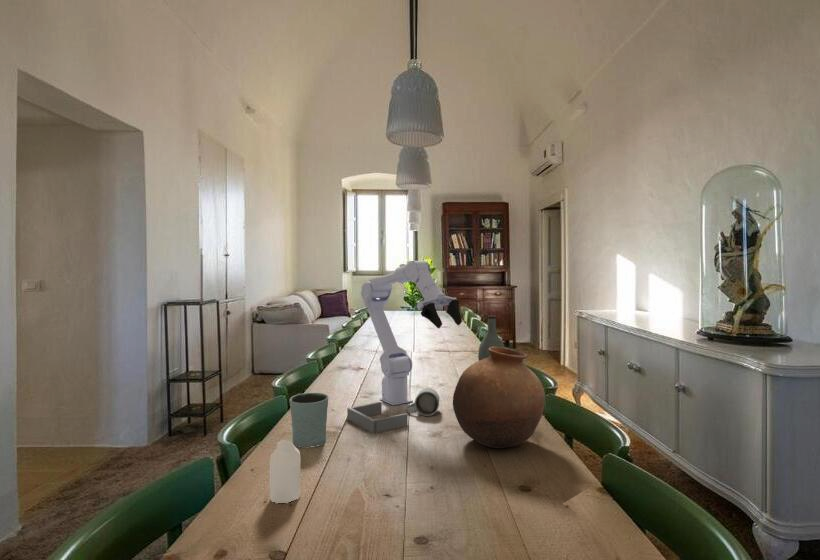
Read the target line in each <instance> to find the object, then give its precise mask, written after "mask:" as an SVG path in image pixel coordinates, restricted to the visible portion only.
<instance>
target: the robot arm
mask: <svg viewBox="0 0 820 560" xmlns="http://www.w3.org/2000/svg"><path fill="white" fill-rule="evenodd" d="M410 282H412V283H415V285H416V287H417V289H418V291H419V292H420V294H421V295H422V298H423V300H421V301H418V302H417V304H416V308H417V310H418V311H419V312H420V311H421V312H420V315H421V316H422V317H423V318H425V319H426V320H429V321H430V322H431V323H432V324H433V325H434V326H435V327H436V328H437V329H441V327H442V326H443V322H442V319H441V318H440V316H439V314H438V311H437V309H439V308H441V307H446V306H447V309H446V311H445V313H446V314H448V315H449V317H451V319H452V320H453V321H454V323H455V324H456V326H460V325H461V323H463V320H462V317H461V312H460V300H458V299H457V297H455V296H454V297H452V296H448V295H446V294H445V292H442V290H441V289H440V287H439V285H438V284H437V282H436V281H435V279H434V277H433V276H432V274H431V266H430V264H429V262H428V261H426V260H411V261H409V262H408V263H407V264H406V263H402V264H400V265H399V267H396V268H395V270H394V271H393V272H391V273H389V274H388V273H387V274H383V275H381V276H377V277H374V278H371V279H369V280H368V281H365V282H363V284H362V286H361V291H360V295H361V298H362V301H363V303H364V306H365V307H366V308H367V312H368V313H369V317H370V319H371V322H372V325H373V327H374V330H375V333H376V335H377V338H378V340H379V343H380V346H381V348H382V350H383V352H382V354H381V355H380V357H379V362H380V368H381V372H382V373H383V375H384V376H383V377H382V379H381V397H380V398H379V400H380V401H382V402H385V403H387V404H390V405H391V406H397V405H398V406H399V405H402V404H407V403H411V402H412V403H414V401H413V400H412V399H410V398H408V394H409V393H408V376H410V373H411V371H412V369H413V361H412V359H411V357H410V356H409V355H408V353H407V351H406V349H404V348H402V347H400V346H399V345H398V343H397V342H398V341H396V337H395V336H394V333H393V331H392V328H391V325H390V323H389V321H388V318H387V315H386V313H385V310H384V307H386V306H387V305H388V302H389V300H390V297H391V295H392V294H391V293H392V290H393V284H396V283H399V284H400V285H401V284H405V283H410Z"/></svg>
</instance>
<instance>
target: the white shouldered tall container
mask: <svg viewBox="0 0 820 560" xmlns="http://www.w3.org/2000/svg"><path fill="white" fill-rule="evenodd" d="M269 490H270V491H269V496H270V497H269V498H270V502H272V503H273V502H275V503H274V504H278V503H286V504H288V503H287V502H291V501H293V500H296V499H297V500H299V499H300V498H299V497H301V495H302V494H301V452H300V450H299V448H298V447H297V446H295V445H294V444H293V442H291V441H288V440H286V439H281V440H280V441H278V442H277V443H276V448H275V449H274V450H273V451H272V453H271V455H270V458H269ZM300 494H301V495H300ZM297 500H296V501H297ZM291 503H292V502H291Z"/></svg>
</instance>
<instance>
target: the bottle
mask: <svg viewBox="0 0 820 560" xmlns="http://www.w3.org/2000/svg"><path fill="white" fill-rule="evenodd" d="M496 317H497V316H496V315H493V314H491V315H490V314H489V315H487V333H486V334H485V336H484V337H483V339H482V340H481V342H480V344H479V346H478V353H477V357H478V361H480V360H483V359H485V358H488V357H490V356H491V353H490V352H489V350H488V349H489V348H490V347H502V348H506V347H505V344H504V342H503V341H502V340H501V338H500V336H499V335H498V332H497V330H496V329H497V326H496V325H497V323H496V321H497V319H496Z"/></svg>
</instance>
